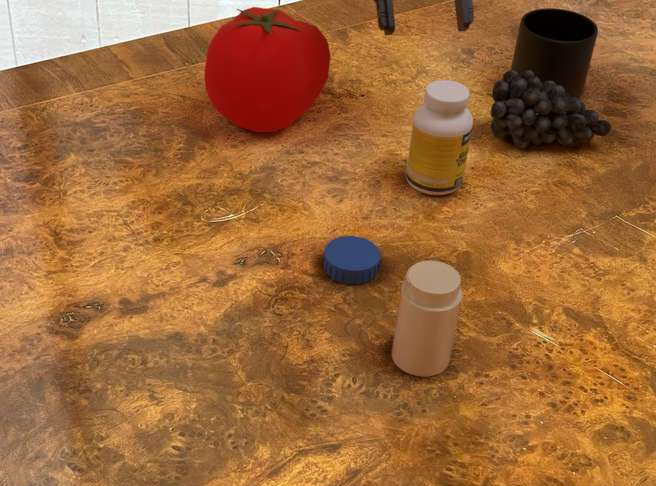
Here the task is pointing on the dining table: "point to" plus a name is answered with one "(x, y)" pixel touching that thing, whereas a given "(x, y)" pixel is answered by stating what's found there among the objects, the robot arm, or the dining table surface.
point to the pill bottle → (440, 139)
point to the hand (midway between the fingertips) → (427, 31)
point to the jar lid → (351, 260)
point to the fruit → (541, 112)
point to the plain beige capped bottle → (427, 318)
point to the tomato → (266, 69)
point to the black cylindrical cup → (556, 47)
